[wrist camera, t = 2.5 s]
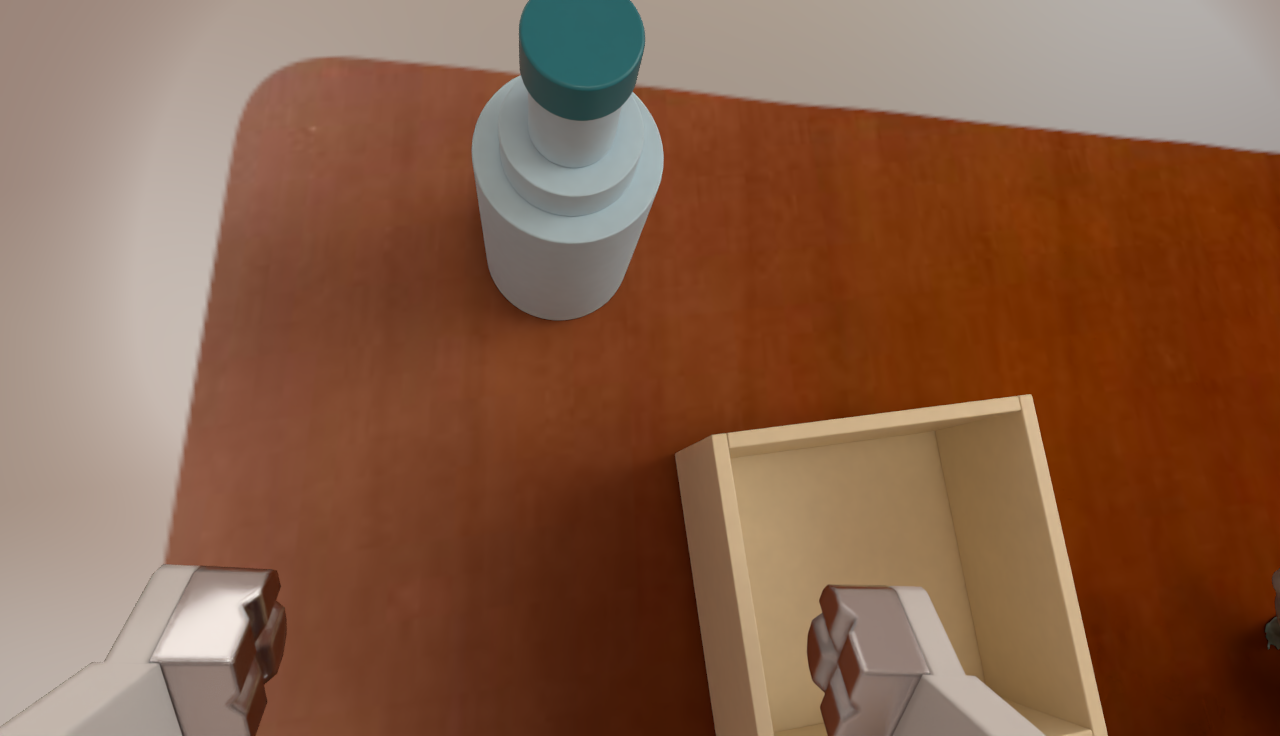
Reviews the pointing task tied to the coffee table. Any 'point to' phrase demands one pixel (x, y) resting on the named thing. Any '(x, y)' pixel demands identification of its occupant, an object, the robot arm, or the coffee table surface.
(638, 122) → the bottle
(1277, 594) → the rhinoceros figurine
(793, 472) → the open box
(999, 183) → the coffee table surface
